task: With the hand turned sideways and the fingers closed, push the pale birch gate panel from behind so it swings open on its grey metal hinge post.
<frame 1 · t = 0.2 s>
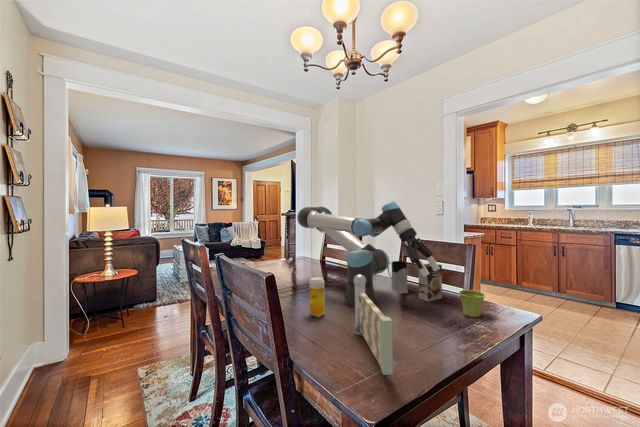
hand: (432, 272, 124), 15 cm above the table, tool tilted 35°, fingers open, 13 cm apart
gate post: (360, 332, 100), on the table
orange and white cylinder: (317, 315, 118), on the table
plant pot: (471, 315, 115), on the table
coffee box: (430, 298, 136), on the table
gate panel: (372, 325, 85), point 9 cm above the table, hinge at 0.0°
glass holder: (396, 290, 151), on the table
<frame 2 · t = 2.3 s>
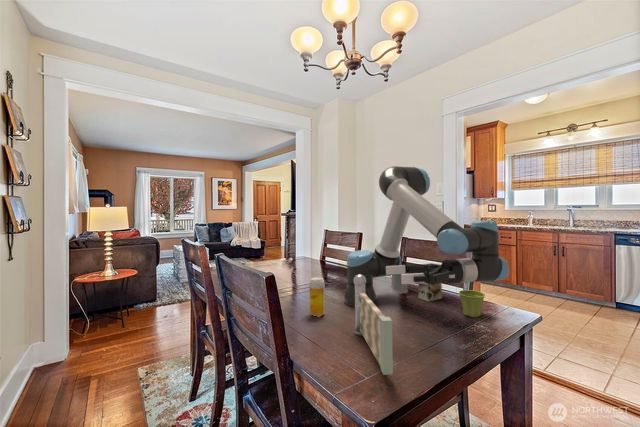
hand: (393, 274, 89), 23 cm above the table, tool horizontal, fingers open, 13 cm apart
nothing on the table moved.
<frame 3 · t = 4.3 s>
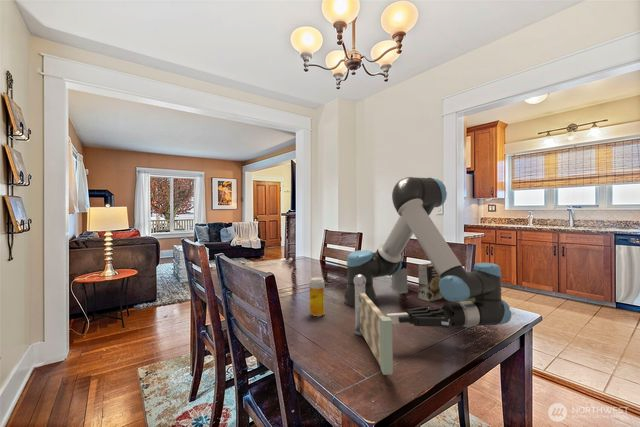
hand: (387, 319, 88), 9 cm above the table, tool horizontal, fingers closed
nothing on the table moved.
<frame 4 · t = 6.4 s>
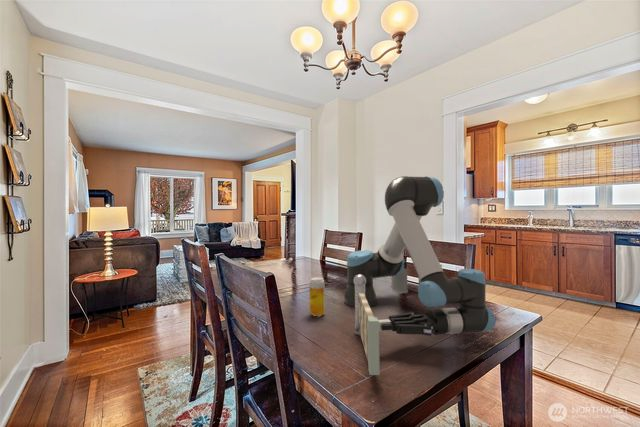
hand: (369, 326, 87), 8 cm above the table, tool horizontal, fingers closed
gate panel: (366, 326, 85), point 9 cm above the table, hinge at 6.9°, touching gripper
everything else where it was.
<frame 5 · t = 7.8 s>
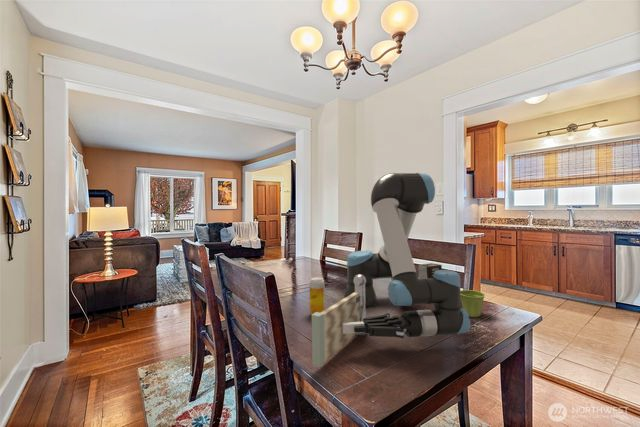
hand: (342, 328, 85), 8 cm above the table, tool horizontal, fingers closed
gate panel: (339, 323, 87), point 9 cm above the table, hinge at 38.2°, touching gripper
everything else where it was.
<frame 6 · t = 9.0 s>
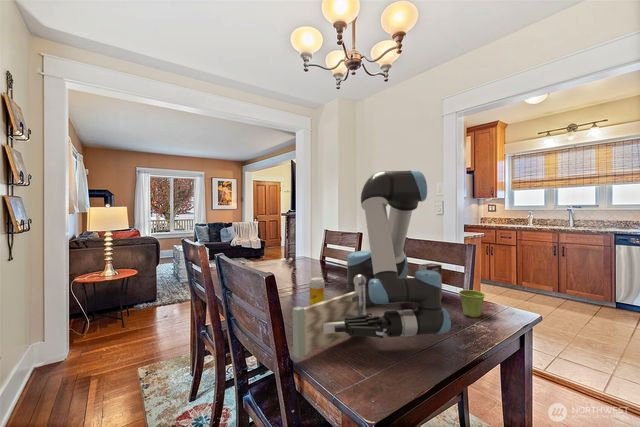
hand: (323, 328, 86), 8 cm above the table, tool horizontal, fingers closed
gate panel: (329, 320, 89), point 9 cm above the table, hinge at 53.4°, touching gripper
everything else where it was.
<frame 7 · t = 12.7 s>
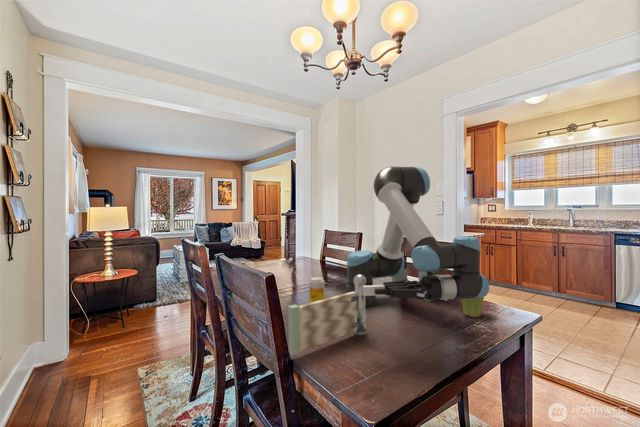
hand: (363, 290, 87), 19 cm above the table, tool horizontal, fingers closed
gate panel: (326, 319, 90), point 9 cm above the table, hinge at 58.3°
everything else where it was.
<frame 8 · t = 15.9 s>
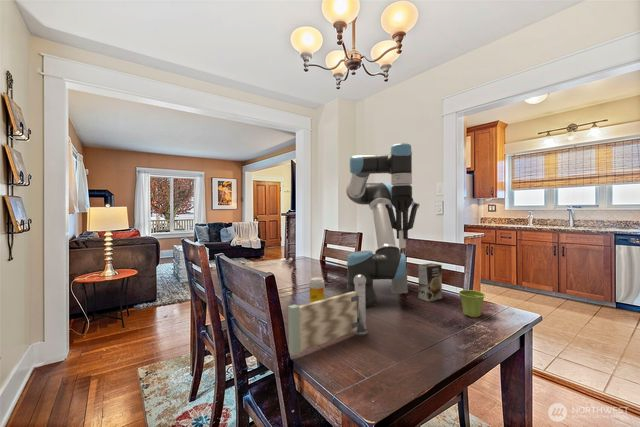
hand: (402, 247, 108), 28 cm above the table, tool pointing down, fingers closed
nothing on the table moved.
at the end: gate panel at +58° (first picture: +0°); orange and white cylinder tilted 0° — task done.
